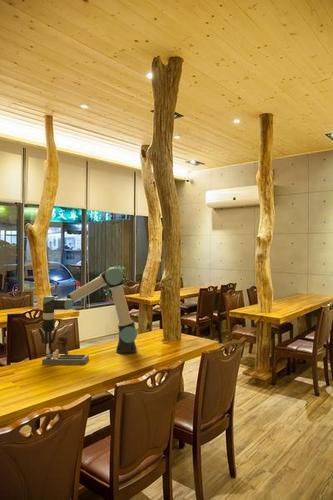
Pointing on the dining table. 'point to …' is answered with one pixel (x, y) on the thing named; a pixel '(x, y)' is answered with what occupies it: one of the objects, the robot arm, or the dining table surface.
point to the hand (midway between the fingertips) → (48, 353)
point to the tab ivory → (54, 355)
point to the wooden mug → (63, 343)
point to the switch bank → (66, 359)
